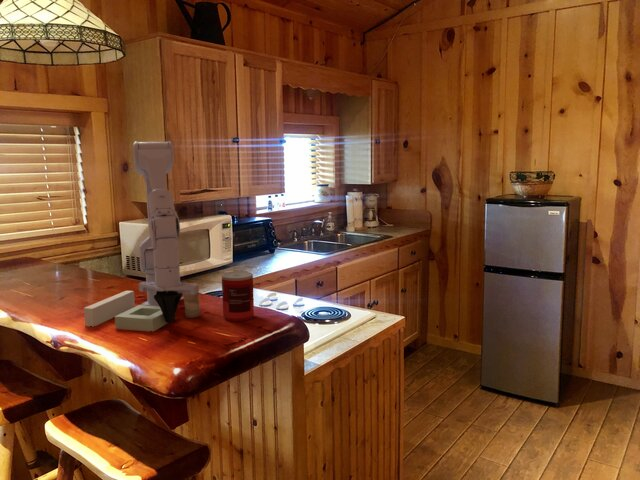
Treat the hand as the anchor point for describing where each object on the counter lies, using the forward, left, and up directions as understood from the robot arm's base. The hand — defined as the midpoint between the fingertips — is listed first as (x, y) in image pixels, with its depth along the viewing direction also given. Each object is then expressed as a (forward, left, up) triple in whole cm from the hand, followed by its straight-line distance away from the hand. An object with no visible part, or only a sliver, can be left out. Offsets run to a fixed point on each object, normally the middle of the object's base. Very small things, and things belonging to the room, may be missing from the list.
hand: (170, 321), depth 130 cm
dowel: (-8, +2, -1) cm, 9 cm away
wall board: (-3, -19, -1) cm, 19 cm away
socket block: (0, -6, -1) cm, 7 cm away
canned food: (-10, +14, -1) cm, 17 cm away
